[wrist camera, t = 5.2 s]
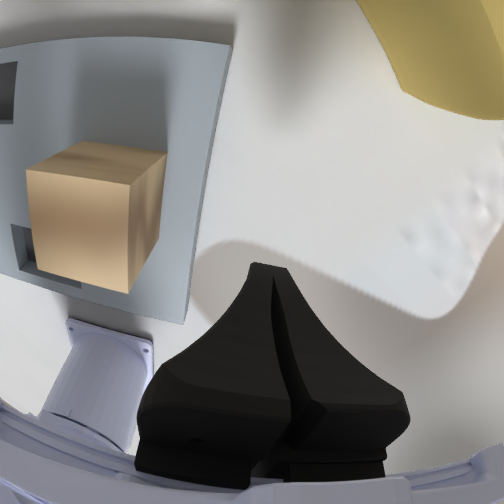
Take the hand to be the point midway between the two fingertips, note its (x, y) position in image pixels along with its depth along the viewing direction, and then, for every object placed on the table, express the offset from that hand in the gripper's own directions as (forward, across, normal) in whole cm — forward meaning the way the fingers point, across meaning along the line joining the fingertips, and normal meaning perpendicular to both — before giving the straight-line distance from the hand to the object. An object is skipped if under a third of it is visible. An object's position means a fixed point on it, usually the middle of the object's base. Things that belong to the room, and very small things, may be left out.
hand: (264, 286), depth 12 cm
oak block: (+6, +8, 0) cm, 10 cm away
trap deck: (+7, +16, 0) cm, 18 cm away
